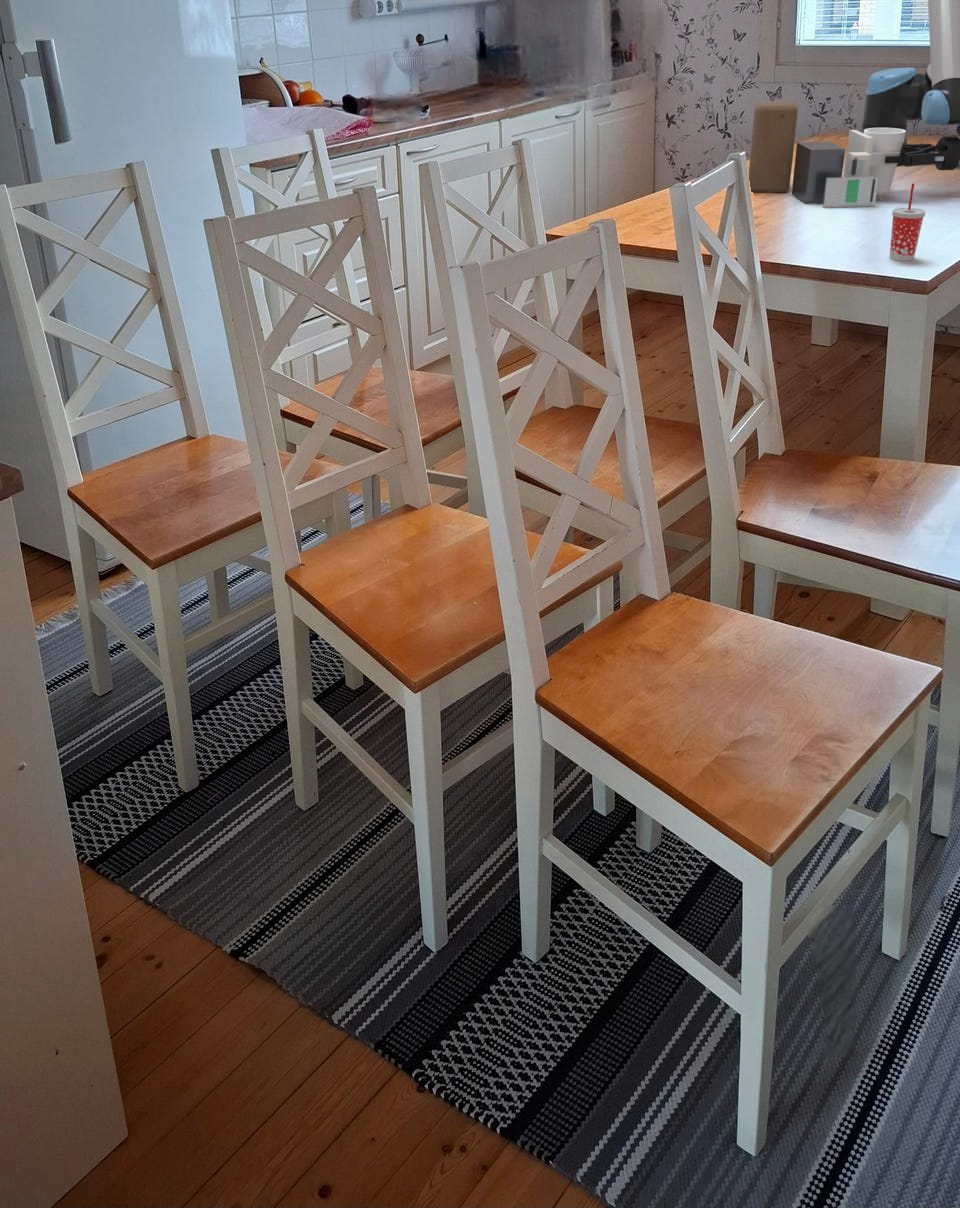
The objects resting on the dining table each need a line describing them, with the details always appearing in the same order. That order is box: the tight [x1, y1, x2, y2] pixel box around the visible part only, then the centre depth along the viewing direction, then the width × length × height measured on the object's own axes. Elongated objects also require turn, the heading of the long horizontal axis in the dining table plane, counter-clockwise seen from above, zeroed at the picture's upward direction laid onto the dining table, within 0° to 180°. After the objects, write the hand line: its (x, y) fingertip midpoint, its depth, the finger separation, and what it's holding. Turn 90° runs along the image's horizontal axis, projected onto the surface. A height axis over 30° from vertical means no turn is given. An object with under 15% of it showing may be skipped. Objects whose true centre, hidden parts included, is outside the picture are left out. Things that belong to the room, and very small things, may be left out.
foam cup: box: [864, 128, 907, 192], centre depth 278 cm, size 10×9×13 cm
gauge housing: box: [791, 140, 882, 209], centre depth 277 cm, size 18×17×12 cm
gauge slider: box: [843, 129, 874, 177], centre depth 276 cm, size 6×17×13 cm, turn 3°
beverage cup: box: [888, 183, 926, 262], centre depth 226 cm, size 6×6×14 cm
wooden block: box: [748, 100, 799, 194], centre depth 288 cm, size 10×10×20 cm
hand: (862, 155), depth 277 cm, fingers closed on foam cup, 9 cm apart
